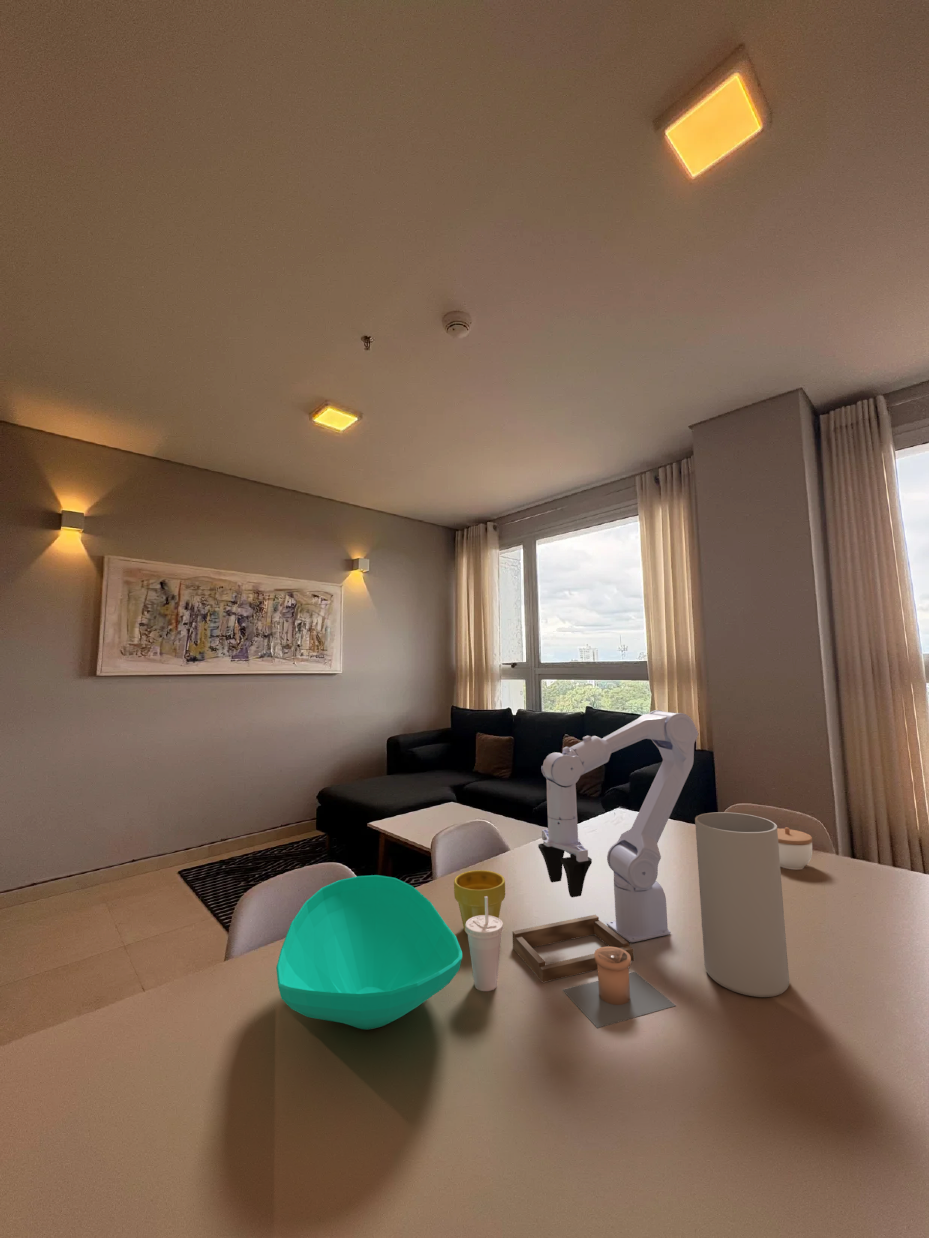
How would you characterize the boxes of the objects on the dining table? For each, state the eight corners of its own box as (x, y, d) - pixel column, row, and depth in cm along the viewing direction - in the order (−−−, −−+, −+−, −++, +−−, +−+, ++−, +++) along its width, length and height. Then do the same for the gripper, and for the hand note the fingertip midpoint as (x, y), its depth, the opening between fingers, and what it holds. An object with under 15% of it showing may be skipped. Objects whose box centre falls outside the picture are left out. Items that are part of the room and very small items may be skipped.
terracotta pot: (618, 982, 88) (616, 943, 89) (640, 1001, 83) (638, 960, 84) (589, 989, 87) (587, 950, 87) (609, 1009, 81) (607, 968, 82)
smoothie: (493, 1000, 84) (490, 907, 86) (459, 988, 88) (456, 899, 89) (511, 980, 90) (509, 893, 91) (478, 969, 93) (476, 885, 95)
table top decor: (500, 1082, 68) (497, 971, 69) (267, 1143, 60) (268, 1016, 61) (429, 936, 105) (428, 866, 107) (280, 961, 97) (281, 885, 99)
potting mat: (635, 973, 91) (635, 971, 91) (676, 1007, 82) (676, 1005, 82) (562, 991, 87) (562, 989, 87) (597, 1029, 77) (597, 1027, 77)
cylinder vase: (721, 949, 98) (711, 808, 100) (799, 975, 89) (786, 820, 92) (692, 978, 89) (683, 823, 92) (776, 1010, 80) (762, 837, 83)
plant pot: (502, 944, 102) (501, 890, 103) (449, 940, 104) (448, 887, 105) (509, 919, 112) (507, 870, 113) (460, 916, 114) (459, 868, 115)
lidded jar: (756, 862, 140) (754, 825, 141) (783, 855, 145) (780, 819, 146) (796, 876, 131) (793, 836, 132) (824, 868, 135) (821, 830, 136)
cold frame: (595, 930, 106) (595, 914, 106) (633, 960, 95) (632, 942, 95) (512, 948, 100) (512, 931, 100) (542, 982, 89) (542, 963, 89)
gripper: (527, 809, 111) (530, 878, 109) (562, 828, 97) (566, 906, 96) (557, 805, 113) (560, 873, 112) (596, 823, 99) (600, 900, 98)
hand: (565, 888), depth 104 cm, fingers open, 7 cm apart
